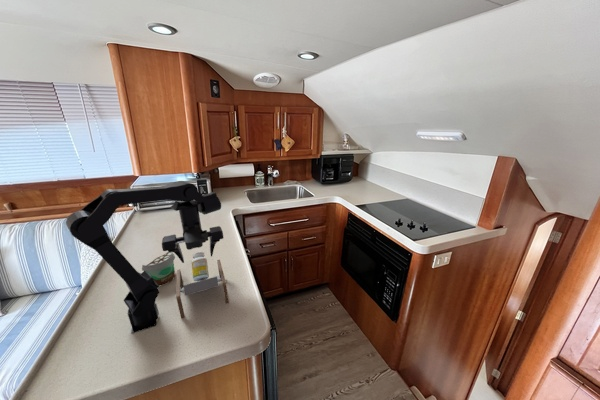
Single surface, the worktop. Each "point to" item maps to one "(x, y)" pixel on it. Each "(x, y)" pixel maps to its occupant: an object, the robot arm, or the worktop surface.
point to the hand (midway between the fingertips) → (197, 259)
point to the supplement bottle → (199, 267)
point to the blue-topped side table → (180, 284)
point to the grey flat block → (201, 285)
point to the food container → (161, 269)
